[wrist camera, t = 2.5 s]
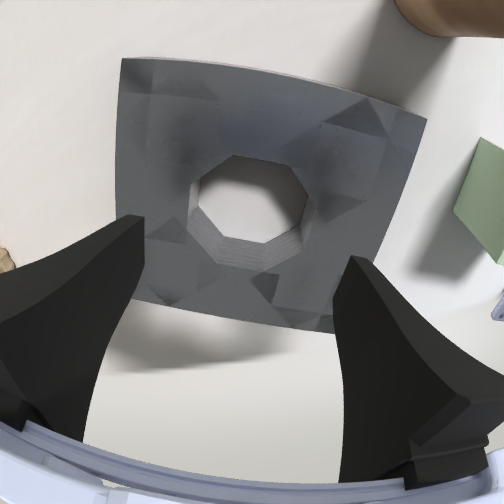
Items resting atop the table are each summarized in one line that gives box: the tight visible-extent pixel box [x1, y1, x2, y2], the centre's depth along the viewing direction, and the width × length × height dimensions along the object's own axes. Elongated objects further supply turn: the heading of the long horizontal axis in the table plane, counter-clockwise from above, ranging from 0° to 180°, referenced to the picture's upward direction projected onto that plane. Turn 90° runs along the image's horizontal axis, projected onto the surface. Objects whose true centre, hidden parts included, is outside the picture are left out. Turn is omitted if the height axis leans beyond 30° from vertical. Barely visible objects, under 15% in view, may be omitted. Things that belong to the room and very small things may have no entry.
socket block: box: [115, 57, 427, 334], centre depth 15 cm, size 12×12×2 cm
